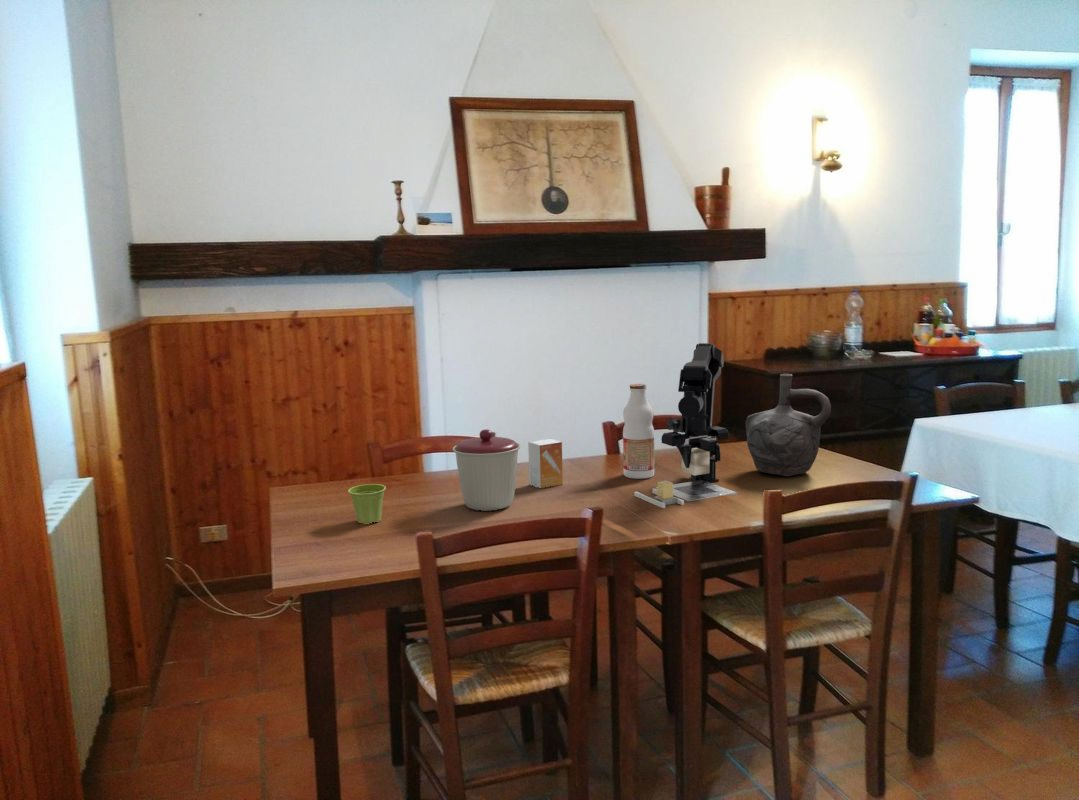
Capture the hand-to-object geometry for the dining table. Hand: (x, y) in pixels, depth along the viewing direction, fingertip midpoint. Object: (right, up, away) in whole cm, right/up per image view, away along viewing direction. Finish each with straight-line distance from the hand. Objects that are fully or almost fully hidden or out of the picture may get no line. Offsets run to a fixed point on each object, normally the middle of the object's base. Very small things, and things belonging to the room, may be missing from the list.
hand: (695, 466), depth 227 cm
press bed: (0, -8, +1) cm, 8 cm away
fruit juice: (-13, -5, +24) cm, 27 cm away
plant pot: (-87, -13, -15) cm, 89 cm away
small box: (-41, -7, +16) cm, 45 cm away
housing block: (0, -2, 0) cm, 2 cm away
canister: (-57, -11, -4) cm, 58 cm away
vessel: (+31, -4, +21) cm, 37 cm away
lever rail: (-11, -9, -7) cm, 16 cm away
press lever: (-10, -9, -10) cm, 17 cm away
